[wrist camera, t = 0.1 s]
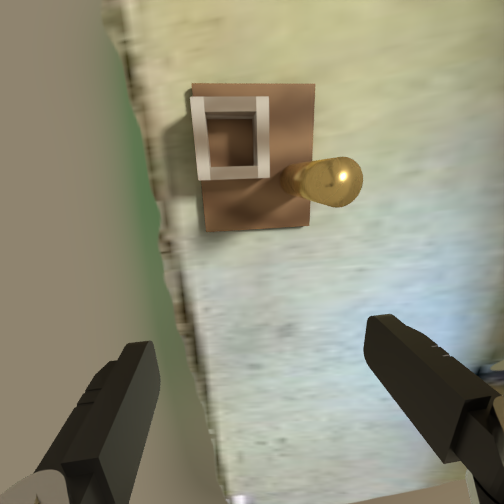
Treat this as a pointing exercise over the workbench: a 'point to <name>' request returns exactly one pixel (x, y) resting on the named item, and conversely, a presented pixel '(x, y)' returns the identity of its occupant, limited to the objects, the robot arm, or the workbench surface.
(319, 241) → the workbench surface
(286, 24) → the workbench surface
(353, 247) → the workbench surface
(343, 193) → the golden metal peg
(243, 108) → the socket block
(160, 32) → the workbench surface
